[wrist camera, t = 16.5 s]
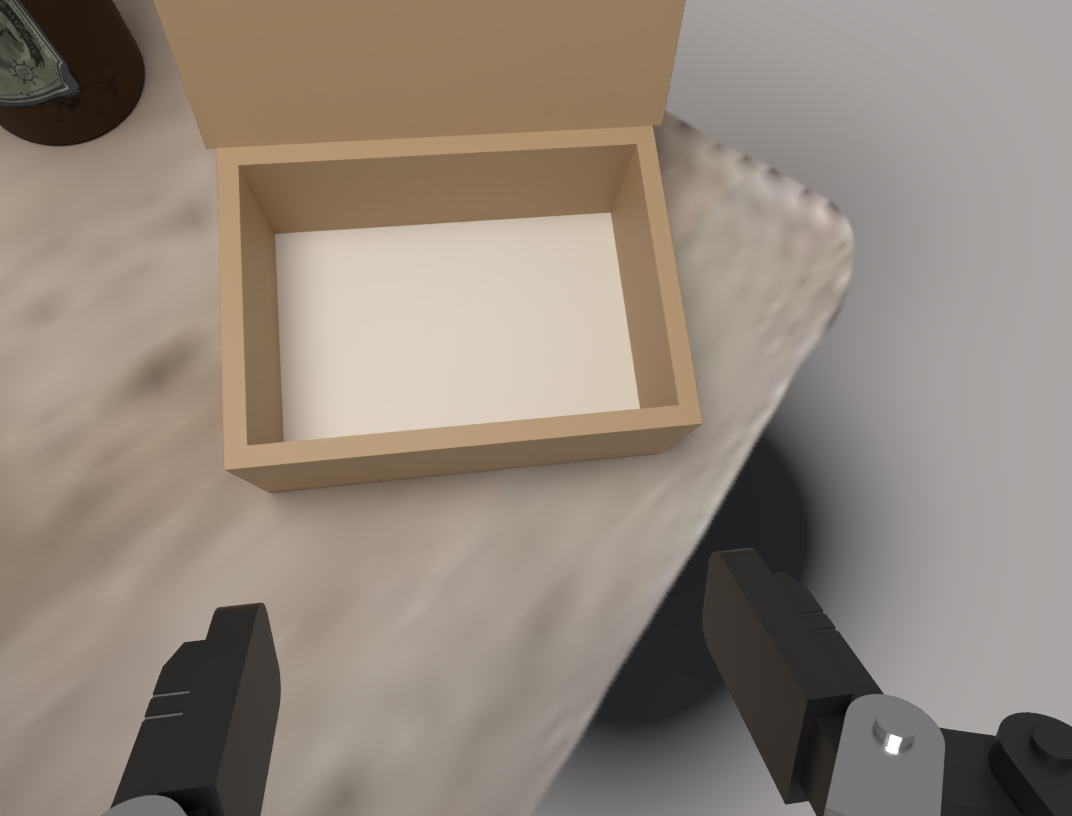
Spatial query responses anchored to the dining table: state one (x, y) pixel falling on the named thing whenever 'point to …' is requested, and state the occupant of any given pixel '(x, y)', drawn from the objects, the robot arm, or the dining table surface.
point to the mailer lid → (419, 66)
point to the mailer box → (447, 306)
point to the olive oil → (65, 69)
